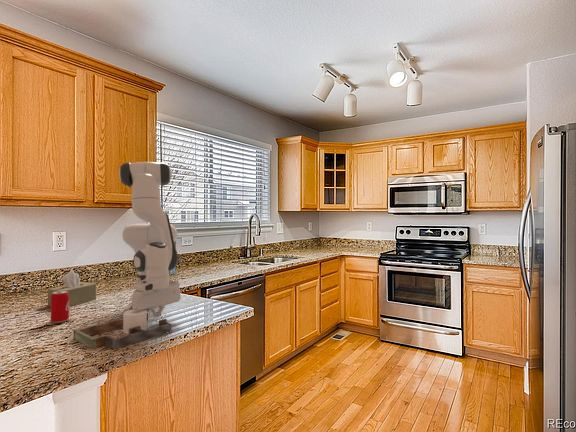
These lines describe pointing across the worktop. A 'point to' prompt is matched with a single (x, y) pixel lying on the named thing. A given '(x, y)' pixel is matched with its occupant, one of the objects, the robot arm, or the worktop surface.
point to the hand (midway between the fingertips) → (157, 316)
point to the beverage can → (59, 306)
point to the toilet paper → (134, 320)
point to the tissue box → (75, 289)
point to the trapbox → (134, 336)
